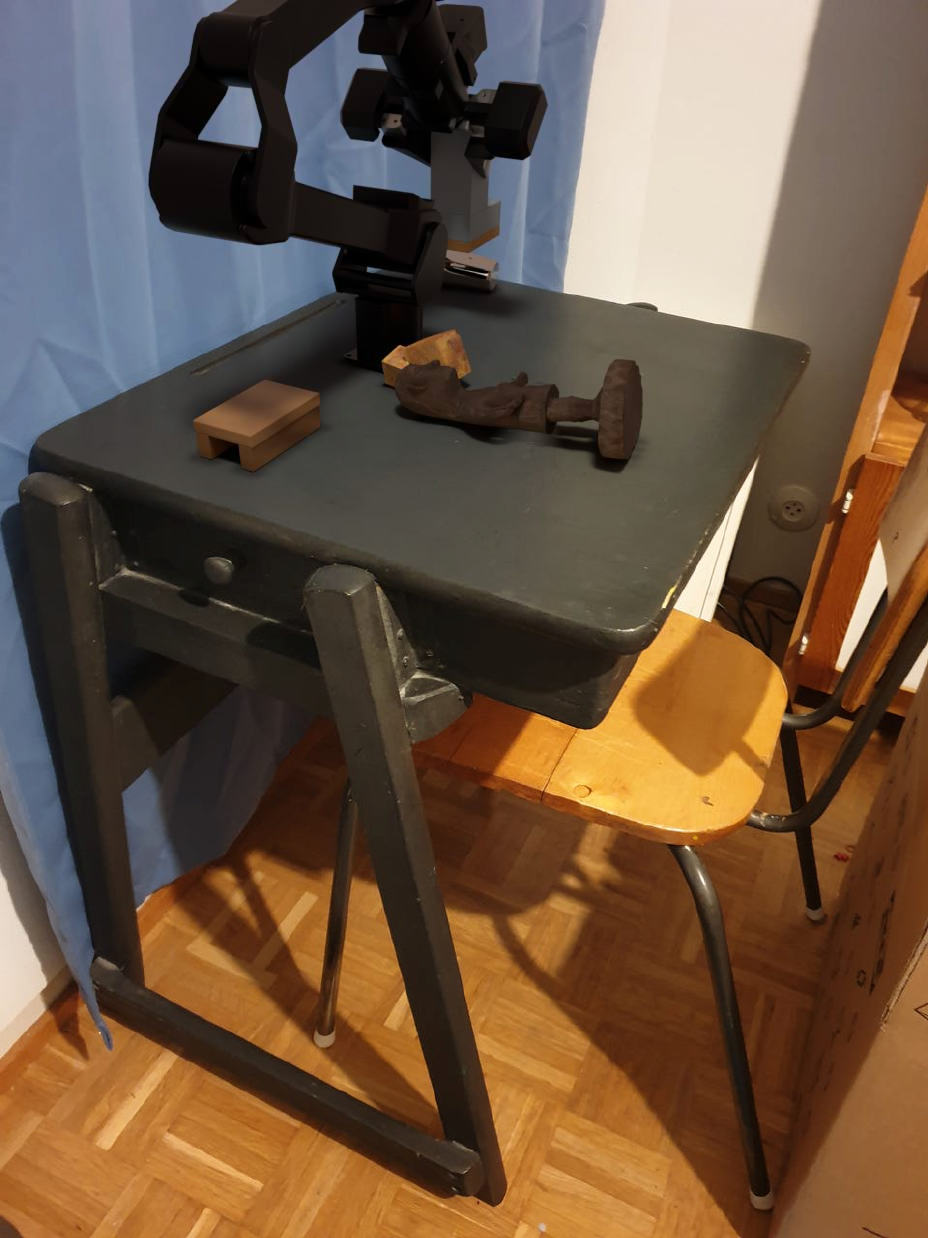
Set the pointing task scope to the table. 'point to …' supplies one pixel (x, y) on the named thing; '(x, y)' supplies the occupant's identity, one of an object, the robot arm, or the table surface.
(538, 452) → the table surface
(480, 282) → the milkshake
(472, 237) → the grey stepped block
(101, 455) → the table surface
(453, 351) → the pyrite
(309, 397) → the wooden footstool
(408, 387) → the figurine
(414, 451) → the table surface
